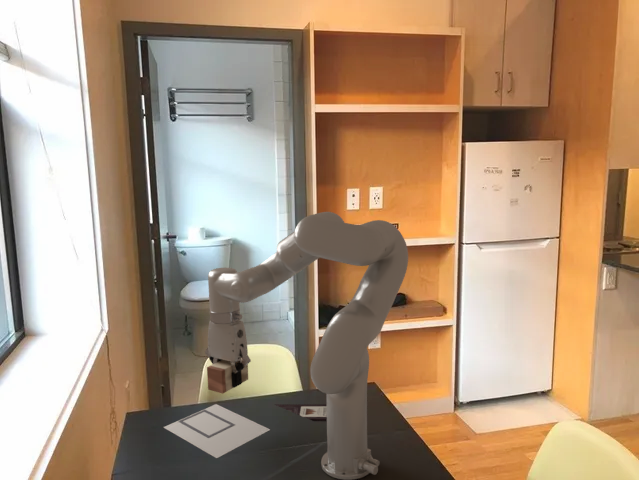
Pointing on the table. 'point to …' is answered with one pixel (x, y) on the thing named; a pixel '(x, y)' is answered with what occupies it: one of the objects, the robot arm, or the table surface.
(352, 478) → the robot arm
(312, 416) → the chocolate bar
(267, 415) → the table surface
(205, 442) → the mat
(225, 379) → the block
